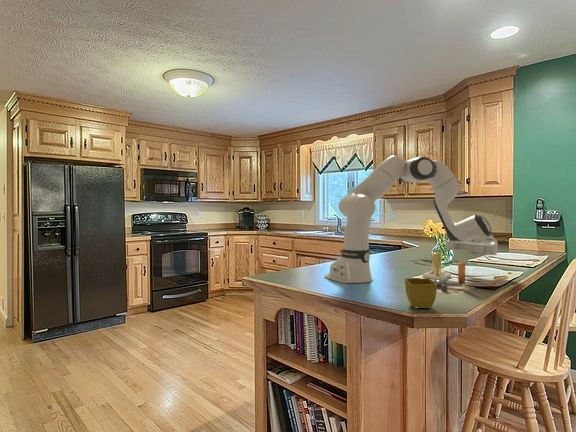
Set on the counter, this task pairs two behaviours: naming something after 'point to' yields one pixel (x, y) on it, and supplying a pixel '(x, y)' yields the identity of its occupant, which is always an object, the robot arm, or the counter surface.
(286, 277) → the counter surface
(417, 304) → the flower pot
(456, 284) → the crank
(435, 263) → the pin
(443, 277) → the dish
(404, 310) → the counter surface
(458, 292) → the crank base
